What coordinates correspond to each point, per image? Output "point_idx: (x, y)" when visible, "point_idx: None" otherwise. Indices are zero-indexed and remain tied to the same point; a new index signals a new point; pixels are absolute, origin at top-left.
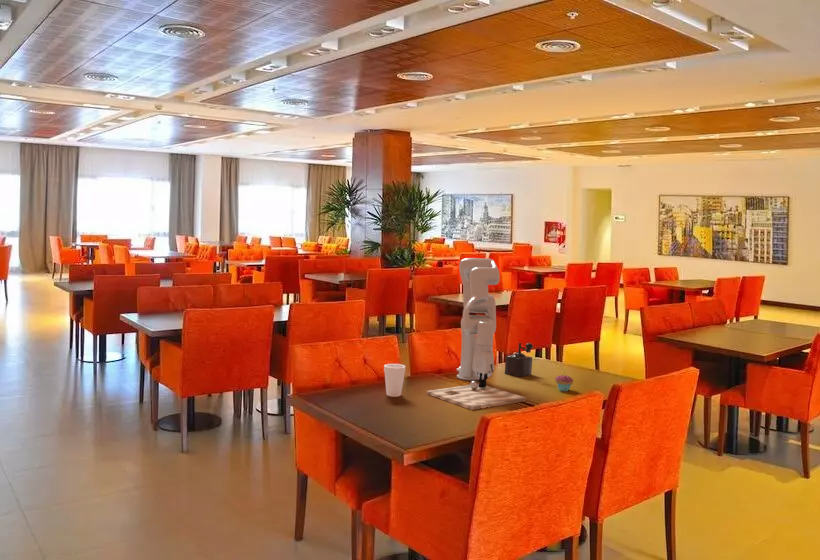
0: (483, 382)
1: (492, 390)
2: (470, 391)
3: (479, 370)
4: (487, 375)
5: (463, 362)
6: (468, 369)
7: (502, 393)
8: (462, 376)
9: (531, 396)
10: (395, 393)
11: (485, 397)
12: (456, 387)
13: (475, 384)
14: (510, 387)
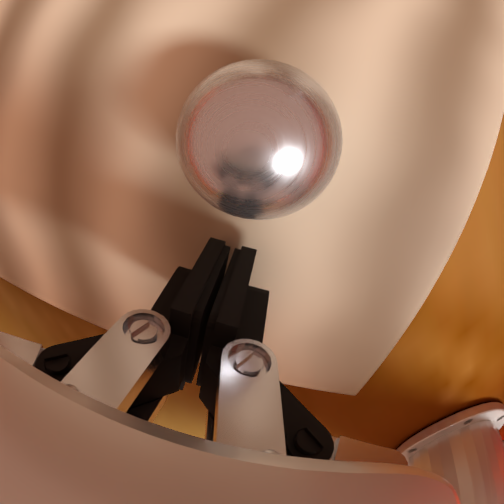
0: (165, 293)
1: (109, 265)
2: (232, 9)
3: (83, 468)
4: (29, 361)
5: (502, 485)
6: (468, 467)
7: (18, 232)
8: (485, 420)
9: (20, 335)
10: None
11: (17, 6)
12: (485, 88)
13: (189, 95)
14: (192, 433)
